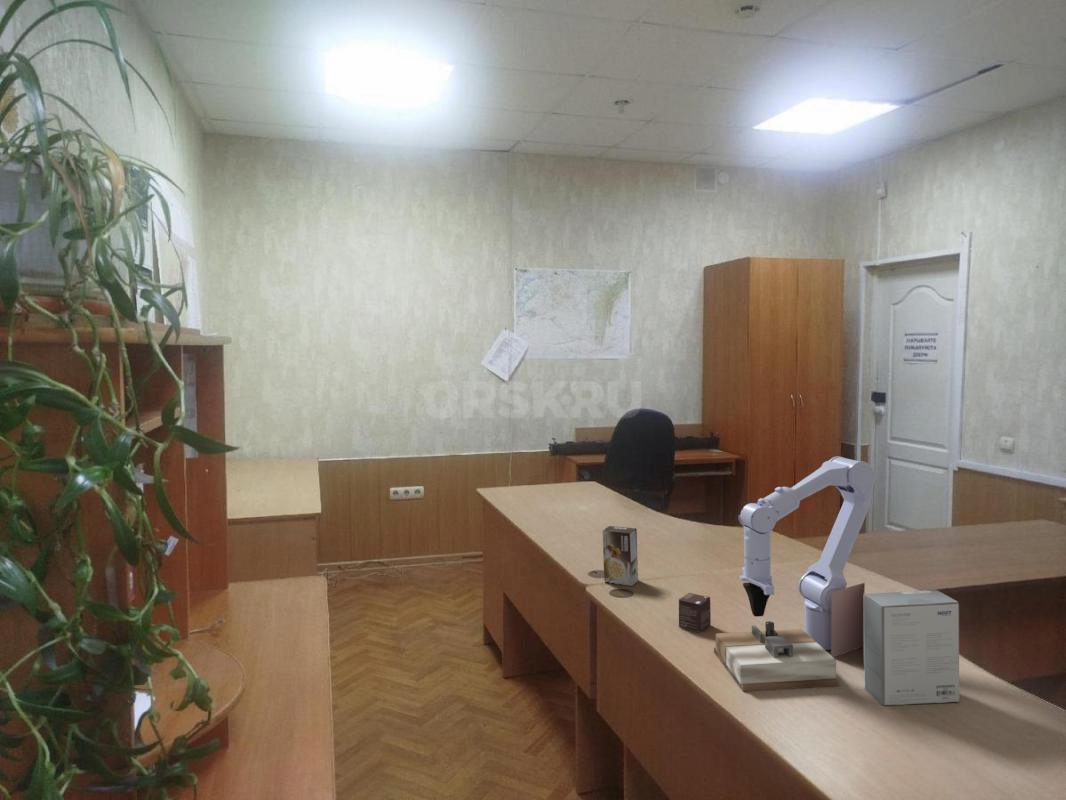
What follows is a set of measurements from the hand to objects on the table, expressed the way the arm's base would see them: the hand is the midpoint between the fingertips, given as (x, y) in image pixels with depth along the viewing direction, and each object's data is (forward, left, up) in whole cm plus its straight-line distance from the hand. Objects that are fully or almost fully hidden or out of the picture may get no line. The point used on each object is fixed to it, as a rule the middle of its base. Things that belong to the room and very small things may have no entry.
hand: (758, 615), depth 164 cm
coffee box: (+22, -53, -9) cm, 59 cm away
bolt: (0, +9, -3) cm, 10 cm away
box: (+10, -16, -9) cm, 21 cm away
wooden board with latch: (0, +9, -9) cm, 12 cm away
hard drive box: (-22, +24, -9) cm, 33 cm away
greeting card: (-21, +5, -9) cm, 23 cm away
